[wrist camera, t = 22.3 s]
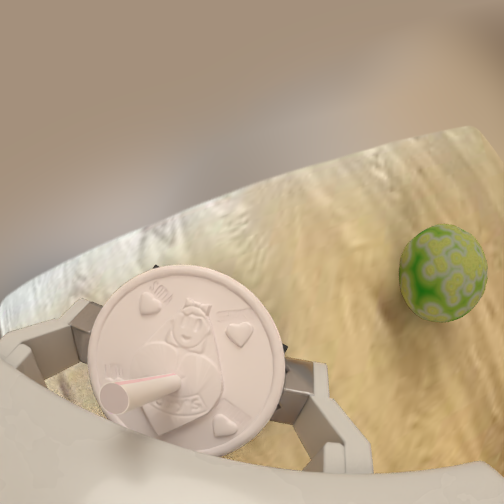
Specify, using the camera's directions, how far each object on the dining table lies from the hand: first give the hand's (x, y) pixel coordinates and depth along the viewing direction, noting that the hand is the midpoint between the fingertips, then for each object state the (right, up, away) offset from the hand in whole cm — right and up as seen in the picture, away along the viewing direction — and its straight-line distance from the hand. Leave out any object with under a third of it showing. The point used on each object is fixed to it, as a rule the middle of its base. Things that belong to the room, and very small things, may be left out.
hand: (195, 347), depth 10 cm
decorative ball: (+21, -1, +20) cm, 29 cm away
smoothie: (0, -3, +7) cm, 8 cm away
